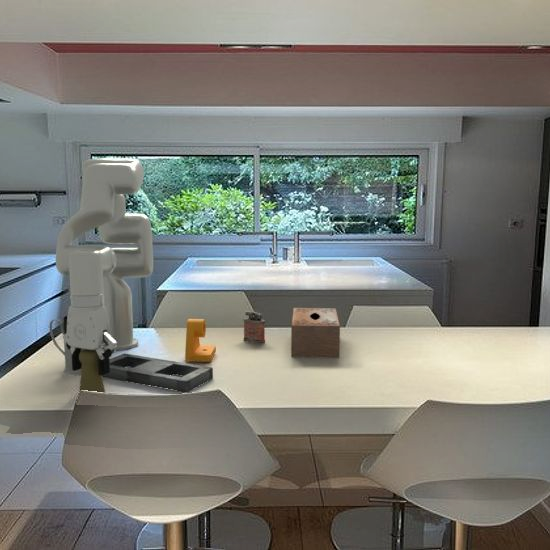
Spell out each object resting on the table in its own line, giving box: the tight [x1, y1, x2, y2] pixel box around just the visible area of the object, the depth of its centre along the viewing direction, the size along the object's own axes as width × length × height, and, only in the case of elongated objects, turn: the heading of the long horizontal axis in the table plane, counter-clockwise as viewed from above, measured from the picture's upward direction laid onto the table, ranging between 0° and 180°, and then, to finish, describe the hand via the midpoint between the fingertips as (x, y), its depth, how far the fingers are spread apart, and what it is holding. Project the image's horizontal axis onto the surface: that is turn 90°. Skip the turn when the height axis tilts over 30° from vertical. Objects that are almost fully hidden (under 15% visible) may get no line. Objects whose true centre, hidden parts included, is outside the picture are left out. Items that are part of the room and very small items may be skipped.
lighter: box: [242, 310, 266, 344], centre depth 182 cm, size 8×3×10 cm, turn 58°
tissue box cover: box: [290, 307, 341, 359], centre depth 177 cm, size 26×14×10 cm, turn 177°
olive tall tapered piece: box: [79, 349, 106, 393], centre depth 134 cm, size 6×6×11 cm
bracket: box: [184, 318, 217, 363], centre depth 163 cm, size 11×7×12 cm, turn 177°
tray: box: [102, 353, 214, 393], centre depth 146 cm, size 30×12×3 cm, turn 64°
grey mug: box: [49, 315, 84, 376], centre depth 153 cm, size 9×14×15 cm, turn 70°
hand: (91, 371), depth 134 cm, fingers open, 7 cm apart
